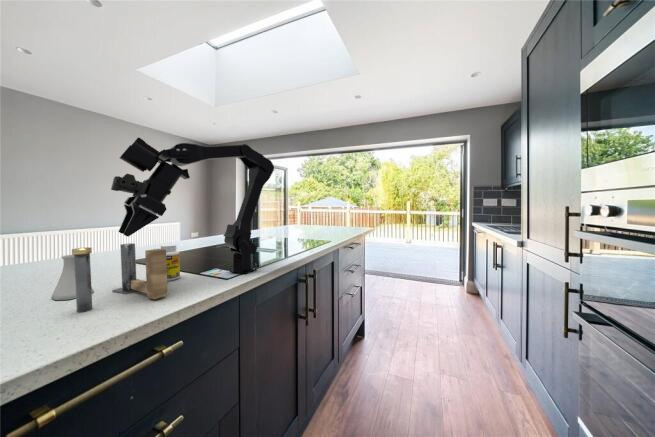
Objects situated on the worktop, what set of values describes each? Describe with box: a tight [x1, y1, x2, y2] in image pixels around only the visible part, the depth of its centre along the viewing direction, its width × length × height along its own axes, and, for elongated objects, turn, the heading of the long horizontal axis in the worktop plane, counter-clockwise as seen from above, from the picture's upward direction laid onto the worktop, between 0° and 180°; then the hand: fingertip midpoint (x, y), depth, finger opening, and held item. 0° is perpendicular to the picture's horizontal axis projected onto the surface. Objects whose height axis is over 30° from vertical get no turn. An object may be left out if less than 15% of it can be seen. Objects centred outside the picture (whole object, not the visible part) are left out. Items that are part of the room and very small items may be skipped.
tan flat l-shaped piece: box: [131, 248, 169, 300], centre depth 63 cm, size 12×3×11 cm, turn 61°
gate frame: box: [71, 242, 139, 313], centre depth 61 cm, size 16×8×13 cm, turn 163°
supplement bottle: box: [160, 243, 181, 282], centre depth 77 cm, size 6×6×10 cm
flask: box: [50, 254, 95, 301], centre depth 63 cm, size 7×7×10 cm
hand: (123, 234), depth 64 cm, fingers open, 9 cm apart
